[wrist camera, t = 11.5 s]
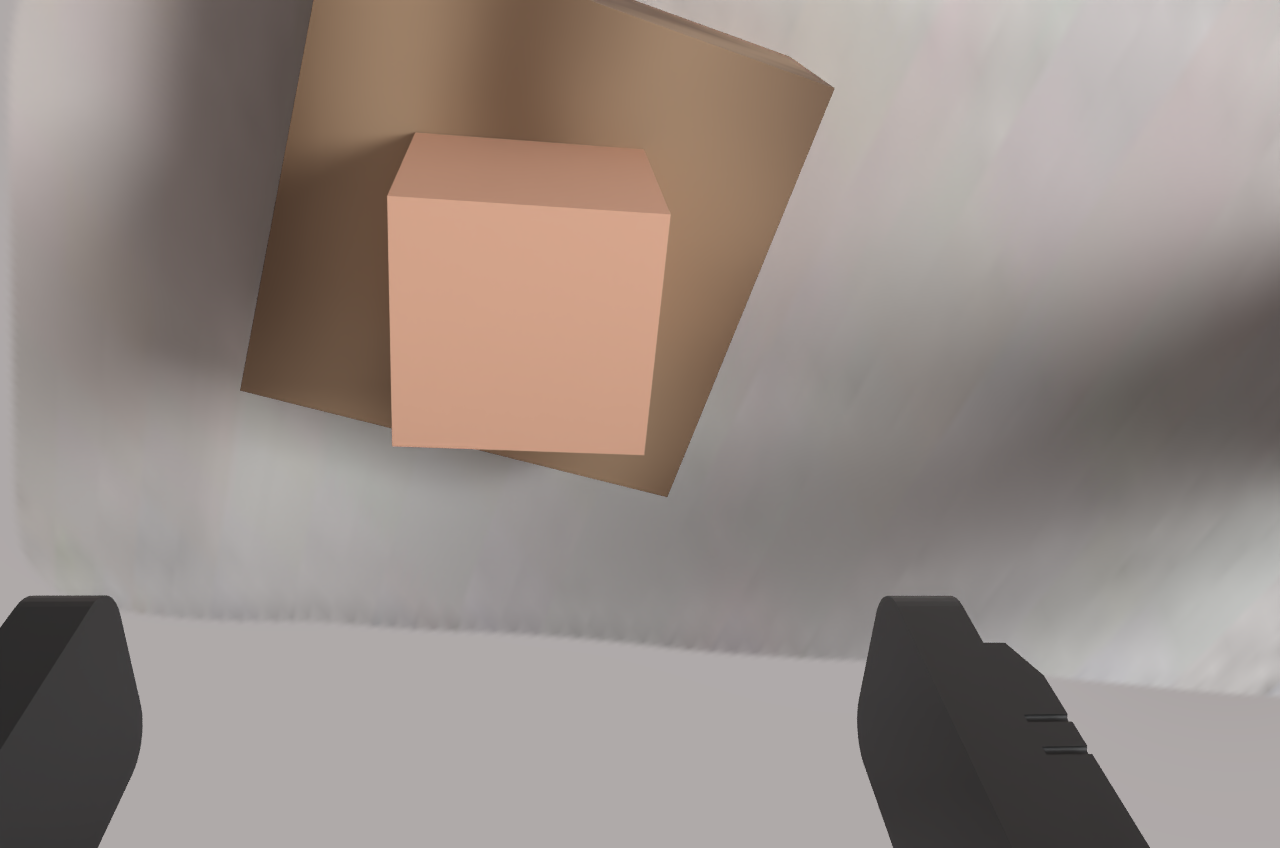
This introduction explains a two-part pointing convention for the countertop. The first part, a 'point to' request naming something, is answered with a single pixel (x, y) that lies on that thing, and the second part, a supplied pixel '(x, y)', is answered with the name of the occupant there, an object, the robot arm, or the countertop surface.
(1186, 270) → the countertop surface
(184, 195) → the countertop surface
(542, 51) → the walnut block
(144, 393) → the countertop surface
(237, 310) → the countertop surface
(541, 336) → the terracotta cube
